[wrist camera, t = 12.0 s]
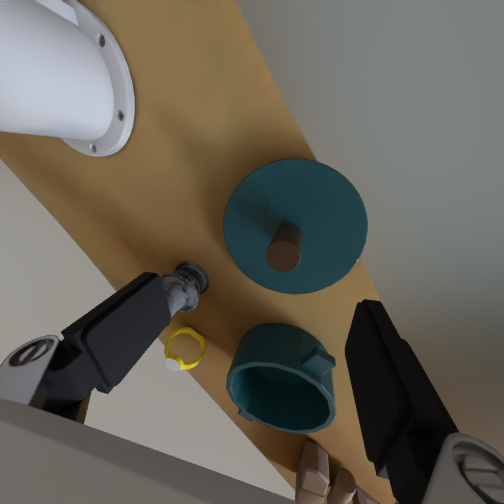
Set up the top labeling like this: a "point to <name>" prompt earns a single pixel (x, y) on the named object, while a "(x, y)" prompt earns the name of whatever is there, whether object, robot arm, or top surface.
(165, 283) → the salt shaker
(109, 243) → the top surface
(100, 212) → the top surface
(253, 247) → the pan lid
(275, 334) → the pan
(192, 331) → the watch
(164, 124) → the top surface
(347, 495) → the wooden block set
